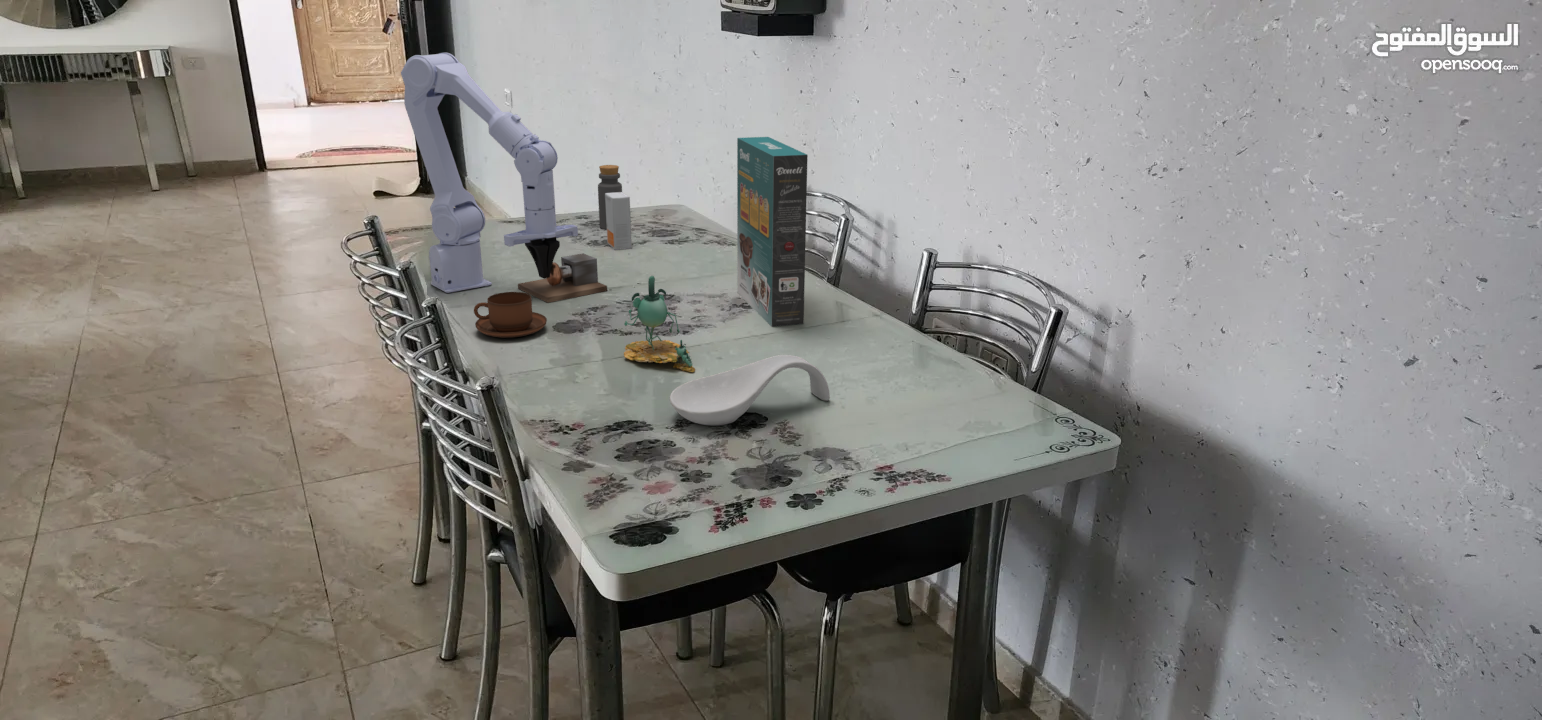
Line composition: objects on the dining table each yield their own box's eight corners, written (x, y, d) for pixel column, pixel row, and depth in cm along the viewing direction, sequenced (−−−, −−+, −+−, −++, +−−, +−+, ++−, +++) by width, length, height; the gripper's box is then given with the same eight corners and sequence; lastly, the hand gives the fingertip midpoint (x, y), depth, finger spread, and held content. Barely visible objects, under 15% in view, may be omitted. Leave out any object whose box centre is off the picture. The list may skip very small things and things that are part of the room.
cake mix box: (803, 323, 181) (807, 154, 170) (771, 326, 179) (773, 156, 169) (766, 290, 200) (768, 136, 190) (737, 292, 199) (737, 137, 188)
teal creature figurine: (652, 383, 154) (643, 287, 150) (608, 359, 169) (599, 272, 165) (708, 371, 158) (701, 278, 154) (661, 349, 173) (653, 263, 170)
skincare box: (606, 244, 234) (604, 192, 230) (624, 242, 236) (622, 191, 232) (614, 250, 229) (612, 197, 225) (632, 248, 231) (630, 196, 226)
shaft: (556, 287, 196) (555, 265, 194) (545, 282, 199) (544, 261, 197) (598, 279, 201) (597, 258, 200) (586, 275, 204) (585, 253, 203)
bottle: (621, 229, 248) (619, 168, 243) (597, 229, 248) (594, 168, 243) (625, 224, 253) (622, 164, 248) (602, 224, 253) (599, 164, 248)
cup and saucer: (480, 346, 168) (477, 311, 166) (472, 325, 179) (469, 291, 176) (553, 338, 172) (551, 304, 170) (540, 318, 183) (538, 285, 181)
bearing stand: (547, 302, 191) (545, 273, 189) (518, 288, 200) (515, 260, 198) (607, 290, 199) (605, 262, 197) (576, 277, 207) (574, 250, 205)
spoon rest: (691, 442, 134) (690, 392, 132) (657, 411, 144) (656, 364, 141) (842, 410, 145) (844, 363, 142) (801, 383, 154) (802, 339, 152)
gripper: (514, 216, 184) (519, 288, 189) (584, 206, 193) (588, 275, 197) (496, 209, 189) (502, 279, 194) (565, 200, 198) (570, 267, 202)
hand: (544, 277), depth 196 cm, fingers closed
